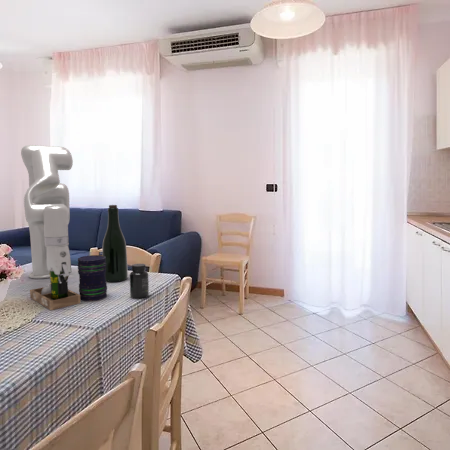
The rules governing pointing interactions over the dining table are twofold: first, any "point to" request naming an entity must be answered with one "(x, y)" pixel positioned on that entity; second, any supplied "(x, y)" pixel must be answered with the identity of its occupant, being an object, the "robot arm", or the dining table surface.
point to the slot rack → (54, 304)
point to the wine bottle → (114, 248)
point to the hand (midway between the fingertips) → (59, 291)
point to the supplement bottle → (139, 282)
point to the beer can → (55, 286)
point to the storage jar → (92, 277)
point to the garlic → (46, 290)
